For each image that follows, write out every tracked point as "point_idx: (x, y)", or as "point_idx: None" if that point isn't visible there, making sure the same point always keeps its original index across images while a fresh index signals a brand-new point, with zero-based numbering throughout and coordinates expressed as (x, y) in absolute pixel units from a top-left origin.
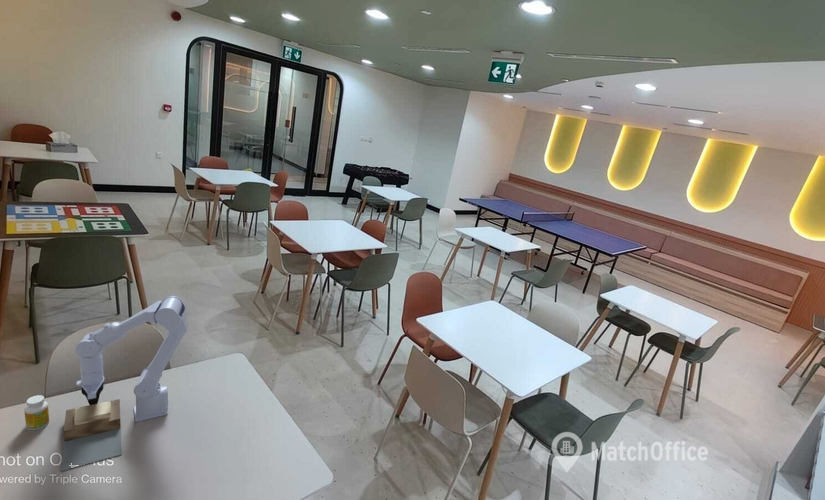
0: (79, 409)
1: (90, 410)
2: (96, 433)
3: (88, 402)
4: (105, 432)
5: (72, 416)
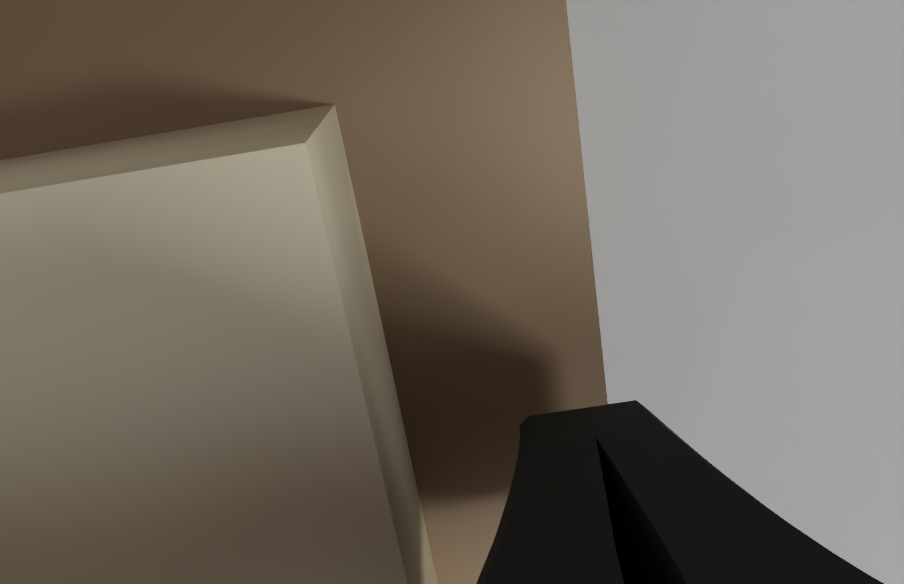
0: (209, 282)
1: (115, 566)
2: None
3: (521, 460)
4: None
5: (188, 55)
